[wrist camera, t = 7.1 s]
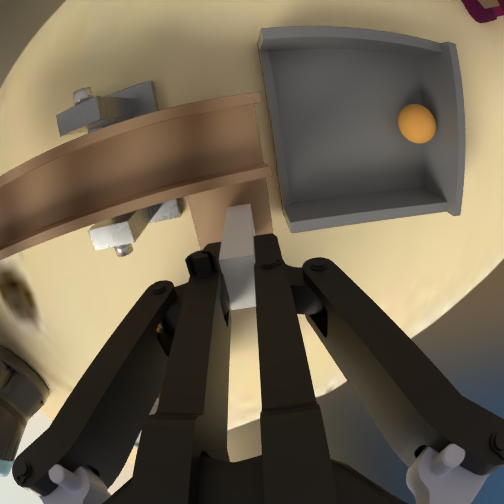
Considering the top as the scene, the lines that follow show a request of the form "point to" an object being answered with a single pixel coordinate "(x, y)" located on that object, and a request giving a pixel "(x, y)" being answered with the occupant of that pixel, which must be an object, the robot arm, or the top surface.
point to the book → (484, 9)
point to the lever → (142, 174)
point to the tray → (361, 124)
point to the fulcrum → (103, 115)
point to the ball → (416, 123)
